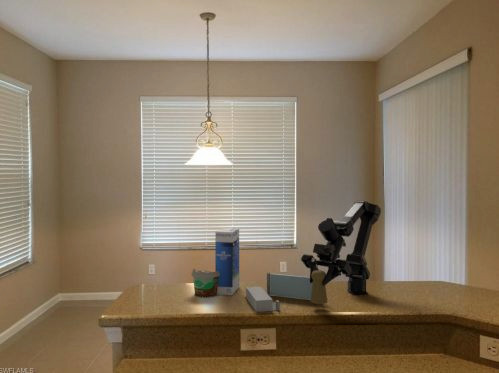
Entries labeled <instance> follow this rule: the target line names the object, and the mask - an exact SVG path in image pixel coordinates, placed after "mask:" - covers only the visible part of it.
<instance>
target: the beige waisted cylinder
mask: <svg viewBox="0 0 499 373" xmlns="http://www.w3.org/2000/svg"><path fill="white" fill-rule="evenodd" d="M326 274H327V272H325V271H323V270H321V269H319V270H315V271H313V272H312V274H311V276H312V279H313V284H312V292H311V300H309V301H310V302H311V303H312V304H315V305H323V304H327V303H328V297H327V296H328V295H327V289H326V288H327V287H326V285H325V286H323V285H322V283H323V280H324V278H325V276H326Z"/></svg>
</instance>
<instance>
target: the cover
mask: <svg viewBox="0 0 499 373" xmlns="http://www.w3.org/2000/svg"><path fill="white" fill-rule="evenodd" d="M312 284H313V282H312V283H310V276H305V275H302V276H300V275H290V274H281V273H271V272H270V296H275V297H281V298H282V297H285V298H293V299H301V300H309V301H310V300H311V292H312Z"/></svg>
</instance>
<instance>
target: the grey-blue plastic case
mask: <svg viewBox="0 0 499 373" xmlns="http://www.w3.org/2000/svg"><path fill="white" fill-rule="evenodd" d="M270 274H271V272H266V291H265V289H264V288H263V287H262V286H247V287H245V299H247V301H248V303H249V304H250V306H251V307H252V309H253V310H254V311H255V313H262V312H274V311H275V312H277V311H281V305H280V301H279V300H278V299H276V300H275V303H274V301H273V298H272V297H271V295H270Z"/></svg>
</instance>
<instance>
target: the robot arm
mask: <svg viewBox="0 0 499 373" xmlns="http://www.w3.org/2000/svg"><path fill="white" fill-rule="evenodd" d="M381 211H382V209H381V207H380V206H379V205H378V204H373V203H370V202H368V201H366V200H356V201H355V202H354V204H353V206H352V207H351V208H350V209H349V210H348V211H347V212H346V214H344V216H341V217H340V218H337V219H336V220H333V218H332V217H327V218H326V219H325V220H323V221H321V222H320V223H319V224H318V225H317V228H318V231H319V232H320V234H321V236H322V237H323V239H324V241H327V242H326V244H321V243H314V245H313V250H312V253H314V254H316V257H317V258H318V259H316V258H315V257H314V255H312V254H308V253H307V254H306V253H305V254H302V256H301V258H300V261H301V262H302V263H303V265H304V266H305V268H307V269H310V270H309V277H310V283H312V282H313V279H312V276H311V274H312V272H313V271H315V270H320V269H319V266H321V267H324V268H325V267H327V272H326V276H325V278H324V280H323V283H322V285H323V286H325V287H326V286H327V285H328V284H329V283H330V282H331V281H333V280H335V279H336V278H337V277H339V276H342V275H344V276H345V277H346V278H348V280H347V290H346V291H347V292H349V293H351V294H352V295H366V294H367V295H368V294H369V292H368V291H367V280H369V279H370V276H371V272H370V270H369V268H368V267H367V265H368V262H367V259H366V253H367V250H368V249H367V248H368V245H369V241H370V236H371V233H372V228H373V226H374V225H375V223H377V222H378V221H379V218H380V215H381V213H382V212H381ZM359 220H360V225H359V227H358V231H357V235H356V239H355V243H354V247H353V250H352V252H351V253H348V254H347V255H346V257H345V259H340V258H341V255H340V253H341V251H342V248H343V247H346V246H347V243H346V241H345V239H344V237H347V238H348V237H351V235H352V233H353V232H354V230H355V228H354V225H355V224H356V222H358V221H359Z"/></svg>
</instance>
